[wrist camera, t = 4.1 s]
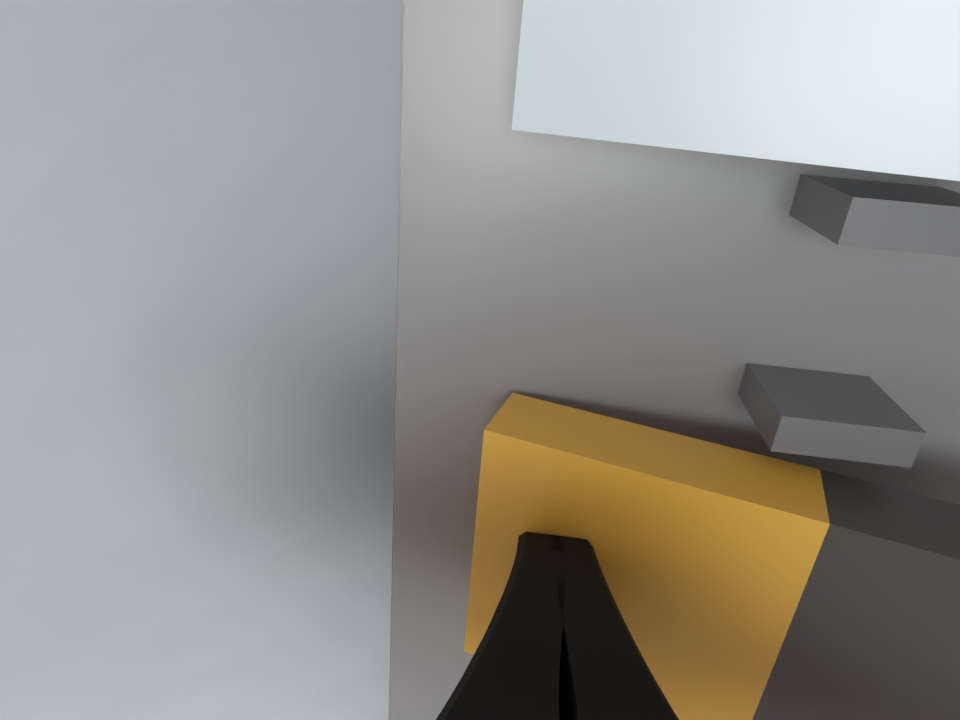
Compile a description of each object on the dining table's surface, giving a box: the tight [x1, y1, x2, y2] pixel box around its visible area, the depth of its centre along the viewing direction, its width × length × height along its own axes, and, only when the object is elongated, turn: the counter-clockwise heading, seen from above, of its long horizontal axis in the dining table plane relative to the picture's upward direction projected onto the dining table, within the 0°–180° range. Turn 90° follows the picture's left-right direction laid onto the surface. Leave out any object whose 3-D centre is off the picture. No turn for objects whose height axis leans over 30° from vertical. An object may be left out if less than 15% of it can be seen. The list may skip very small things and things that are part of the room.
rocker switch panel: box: [389, 0, 960, 720], centre depth 11 cm, size 14×35×4 cm, turn 175°
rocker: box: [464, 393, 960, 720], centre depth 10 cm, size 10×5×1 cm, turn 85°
